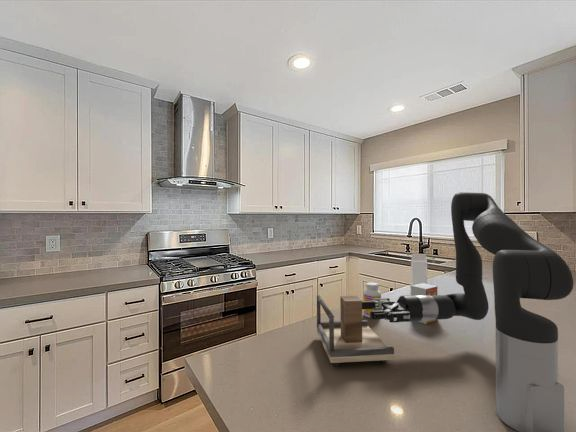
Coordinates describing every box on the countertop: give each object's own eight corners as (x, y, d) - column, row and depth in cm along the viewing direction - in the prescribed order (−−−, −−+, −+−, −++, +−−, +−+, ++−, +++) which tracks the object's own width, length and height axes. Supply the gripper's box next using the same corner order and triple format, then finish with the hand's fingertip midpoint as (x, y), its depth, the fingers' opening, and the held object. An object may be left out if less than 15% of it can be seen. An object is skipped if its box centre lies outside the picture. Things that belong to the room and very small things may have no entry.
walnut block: (362, 342, 81) (362, 300, 81) (345, 342, 81) (345, 301, 81) (356, 334, 86) (356, 295, 86) (340, 335, 86) (340, 296, 86)
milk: (411, 299, 133) (410, 252, 133) (425, 300, 131) (424, 253, 131) (413, 303, 127) (412, 254, 127) (427, 304, 125) (427, 254, 125)
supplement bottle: (361, 317, 110) (361, 284, 110) (365, 311, 116) (365, 280, 116) (379, 320, 107) (379, 286, 107) (382, 314, 113) (382, 282, 113)
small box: (426, 324, 102) (425, 289, 102) (410, 319, 108) (410, 285, 108) (438, 320, 107) (437, 285, 107) (422, 315, 112) (422, 282, 112)
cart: (394, 367, 74) (393, 313, 74) (330, 370, 73) (329, 316, 73) (366, 334, 94) (366, 292, 94) (316, 337, 93) (315, 294, 93)
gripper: (405, 289, 92) (357, 291, 91) (431, 303, 78) (374, 305, 77) (405, 312, 92) (357, 314, 91) (431, 330, 78) (374, 332, 77)
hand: (365, 310), depth 84 cm, fingers open, 8 cm apart
